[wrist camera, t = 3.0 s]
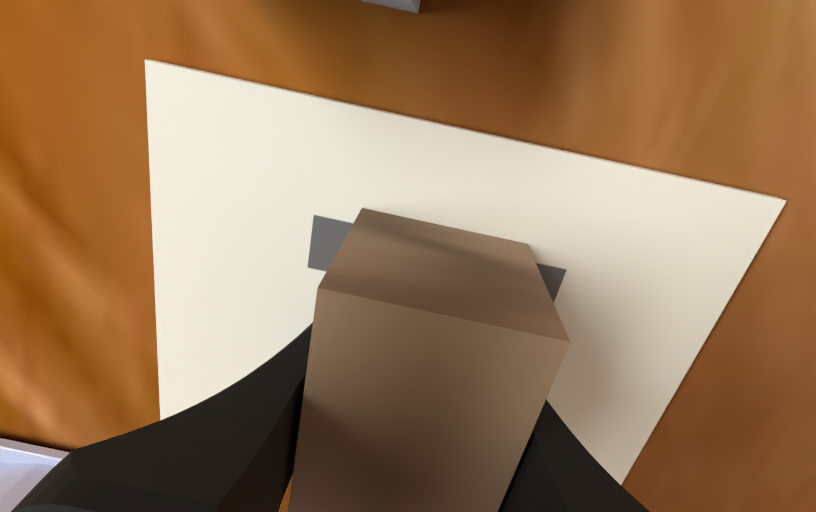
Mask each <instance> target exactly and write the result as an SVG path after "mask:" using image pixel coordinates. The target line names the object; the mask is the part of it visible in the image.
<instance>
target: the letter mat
mask: <svg viewBox="0 0 816 512" xmlns="http://www.w3.org/2000/svg"><path fill="white" fill-rule="evenodd" d="M145 74H146V97H147V120H148V143H149V166H150V189H151V212H152V235H153V259H154V282H155V305H156V328H157V351H158V374H159V397H160V420H163V419H165V418H167V417H170V416H172V415H174V414H177V413H179V412H181V411H183V410H185V409H187V408H189V407H191V406H194V405H196V404H198V403H200V402H202V401H204V400H206V399H208V398H209V397H211V396H213V395H215V394H217V393H219V392H220V391H222V390H224V389H226V388H227V387H229V386H231V385H232V384H234V383H236V382H237V381H239V380H240V379H242V378H243V377H245V376H246V375H248V374H249V373H251V372H252V371H254V370H255V369H256V368H258V367H259V366H261V365H262V364H263V363H265V362H266V361H268V360H269V359H270V358H272V357H273V356H274V355H275V354H277V353H278V352H279V351H280V350H282V349H283V348H284V347H285V346H287V345H288V344H289V343H290V342H291V341H293V340H294V339H295V338H296V337H297V336H298V335H299V334H301V333H302V332H303V331H304V330H305V329H306V328H307V327H308V326H309V325H310V324H311V323H312V322H313V318H314V310H315V303H316V295H317V288H318V286H319V284H320V282H321V281H322V279H323V277H324V275H325V273H326V272H327V270H328V268H329V266H330V264H331V263H332V261H333V259H334V257H335V255H336V254H337V252H338V250H339V248H340V246H341V245H342V243H343V241H344V239H345V237H346V236H347V234H348V232H349V230H350V228H351V227H352V225H353V223H354V221H355V219H356V218H357V216H358V214H359V212H360V210H361V209H362V208H365V209H370V210H374V211H379V212H383V213H388V214H393V215H397V216H402V217H406V218H411V219H416V220H420V221H425V222H429V223H434V224H439V225H443V226H448V227H452V228H457V229H462V230H466V231H471V232H475V233H480V234H485V235H489V236H494V237H498V238H503V239H508V240H512V241H517V242H521V243H526V244H528V246H529V249H530V251H531V253H532V256H533V258H534V260H535V262H536V265H537V267H538V269H539V271H540V274H541V276H542V278H543V281H544V283H545V285H546V287H547V290H548V292H549V294H550V297H551V299H552V301H553V303H554V306H555V308H556V310H557V312H558V315H559V317H560V319H561V322H562V324H563V326H564V328H565V331H566V333H567V335H568V337H569V340H570V345H569V347H568V349H567V351H566V354H565V356H564V358H563V361H562V363H561V365H560V368H559V370H558V372H557V375H556V377H555V379H554V382H553V384H552V386H551V389H550V391H549V393H548V396H547V398H546V399H547V401H548V402H549V403H550V405H551V406H552V407H553V409H554V410H555V411H556V413H557V414H558V415H559V417H560V418H561V419H562V421H563V422H564V423H565V424H566V426H567V427H568V428H569V429H570V431H571V432H572V433H573V434H574V435H575V436H576V438H577V439H578V440H579V441H580V442H581V444H582V445H583V446H584V447H585V448H586V450H587V451H588V452H589V453H590V454H591V455H592V456H593V457H594V458H595V459H596V461H597V462H598V463H599V464H600V465H601V466H602V467H603V468H604V469H605V470H606V471H607V472H608V473H609V474H610V475H611V476H612V477H613V478H614V479H615V480H616V481H617V482H618V483H619V484H620V485H621V484H622V483H623V481H624V479H625V478H626V476H627V474H628V472H629V471H630V469H631V467H632V466H633V464H634V462H635V460H636V459H637V457H638V455H639V454H640V452H641V450H642V448H643V447H644V445H645V443H646V442H647V440H648V438H649V436H650V435H651V433H652V431H653V430H654V428H655V426H656V424H657V423H658V421H659V419H660V418H661V416H662V414H663V412H664V411H665V409H666V407H667V405H668V404H669V402H670V400H671V399H672V397H673V395H674V393H675V392H676V390H677V388H678V387H679V385H680V383H681V381H682V380H683V378H684V376H685V375H686V373H687V371H688V369H689V368H690V366H691V364H692V363H693V361H694V359H695V357H696V356H697V354H698V352H699V351H700V349H701V347H702V345H703V344H704V342H705V340H706V339H707V337H708V335H709V333H710V332H711V330H712V328H713V327H714V325H715V323H716V321H717V320H718V318H719V316H720V315H721V313H722V311H723V309H724V308H725V306H726V304H727V303H728V301H729V299H730V297H731V296H732V294H733V292H734V291H735V289H736V287H737V285H738V284H739V282H740V280H741V279H742V277H743V275H744V273H745V272H746V270H747V268H748V267H749V265H750V263H751V261H752V260H753V258H754V256H755V255H756V253H757V251H758V249H759V248H760V246H761V244H762V243H763V241H764V239H765V237H766V236H767V234H768V232H769V231H770V229H771V227H772V225H773V224H774V222H775V220H776V218H777V217H778V215H779V213H780V212H781V210H782V208H783V206H784V205H785V203H786V201H785V200H783V199H781V198H778V197H774V196H769V195H765V194H760V193H756V192H751V191H746V190H742V189H737V188H733V187H728V186H724V185H719V184H715V183H710V182H706V181H701V180H696V179H692V178H687V177H683V176H678V175H674V174H669V173H665V172H660V171H656V170H651V169H647V168H642V167H637V166H633V165H628V164H624V163H619V162H615V161H610V160H606V159H601V158H597V157H592V156H587V155H583V154H578V153H574V152H569V151H565V150H560V149H556V148H551V147H547V146H542V145H537V144H533V143H528V142H524V141H519V140H515V139H510V138H506V137H501V136H497V135H492V134H487V133H483V132H478V131H474V130H469V129H465V128H460V127H456V126H451V125H447V124H442V123H437V122H433V121H428V120H424V119H419V118H415V117H410V116H406V115H401V114H397V113H392V112H387V111H383V110H378V109H374V108H369V107H365V106H360V105H356V104H351V103H347V102H342V101H337V100H333V99H328V98H324V97H319V96H315V95H310V94H306V93H301V92H297V91H292V90H287V89H283V88H278V87H274V86H269V85H265V84H260V83H256V82H251V81H247V80H242V79H237V78H233V77H228V76H224V75H219V74H215V73H210V72H206V71H201V70H197V69H192V68H187V67H183V66H178V65H174V64H169V63H165V62H160V61H156V60H145Z"/></svg>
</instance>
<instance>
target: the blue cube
mask: <svg viewBox="0 0 816 512" xmlns="http://www.w3.org/2000/svg"><path fill="white" fill-rule="evenodd" d="M359 1H363V2H368V3H372V4H377V5H381V6H386V7H390V8H395V9H399V10H404V11H408V12H412V13H417V14H418V12H419V6H420V1H421V0H359Z"/></svg>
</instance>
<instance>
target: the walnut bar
mask: <svg viewBox="0 0 816 512" xmlns="http://www.w3.org/2000/svg"><path fill="white" fill-rule="evenodd" d="M569 345H570V340H569V337H568V335H567V333H566V331H565V328H564V326H563V324H562V322H561V319H560V317H559V315H558V312H557V310H556V308H555V306H554V303H553V301H552V299H551V297H550V294H549V292H548V290H547V287H546V285H545V283H544V281H543V278H542V276H541V274H540V271H539V269H538V267H537V265H536V262H535V260H534V258H533V256H532V253H531V251H530V249H529V246H528V244H526V243H521V242H517V241H512V240H508V239H503V238H498V237H494V236H489V235H485V234H480V233H475V232H471V231H466V230H462V229H457V228H452V227H448V226H443V225H439V224H434V223H429V222H425V221H420V220H416V219H411V218H406V217H402V216H397V215H393V214H388V213H383V212H379V211H374V210H370V209H365V208H362V209H361V210H360V212H359V214H358V216H357V218H356V219H355V221H354V223H353V225H352V227H351V228H350V230H349V232H348V234H347V236H346V237H345V239H344V241H343V243H342V245H341V246H340V248H339V250H338V252H337V254H336V255H335V257H334V259H333V261H332V263H331V264H330V266H329V268H328V270H327V272H326V273H325V275H324V277H323V279H322V281H321V282H320V284H319V286H318V288H317V295H316V303H315V310H314V318H313V326H312V333H311V341H310V348H309V356H308V363H307V371H306V379H305V386H304V394H303V401H302V409H301V416H300V424H299V432H298V439H297V447H296V454H295V462H294V469H293V477H292V485H291V492H290V500H289V507H288V512H498V510H499V507H500V505H501V503H502V500H503V498H504V496H505V493H506V491H507V489H508V486H509V484H510V482H511V479H512V477H513V475H514V473H515V470H516V468H517V466H518V463H519V461H520V459H521V456H522V454H523V452H524V449H525V447H526V445H527V442H528V440H529V438H530V435H531V433H532V431H533V428H534V426H535V424H536V421H537V419H538V417H539V414H540V412H541V410H542V407H543V405H544V403H545V400H546V398H547V396H548V393H549V391H550V389H551V386H552V384H553V382H554V379H555V377H556V375H557V372H558V370H559V368H560V365H561V363H562V361H563V358H564V356H565V354H566V351H567V349H568V347H569Z"/></svg>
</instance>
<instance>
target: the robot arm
mask: <svg viewBox="0 0 816 512" xmlns="http://www.w3.org/2000/svg"><path fill="white" fill-rule="evenodd" d="M312 326H313V322H312V323H311V324H310V325H309V326H308V327H307V328H306V329H305V330H304V331H303V332H302V333H301V334H299V335H298V336H297V337H296V338H295V339H294V340H293V341H291V342H290V343H289V344H288V345H287V346H285V347H284V348H283V349H282V350H280V351H279V352H278V353H277V354H275V355H274V356H273V357H272V358H270V359H269V360H268V361H266V362H265V363H263V364H262V365H261V366H259V367H258V368H256V369H255V370H254V371H252V372H251V373H249V374H248V375H246V376H245V377H243V378H242V379H240V380H239V381H237V382H236V383H234V384H232V385H231V386H229V387H227V388H226V389H224V390H222V391H220V392H219V393H217V394H215V395H213V396H211V397H209V398H208V399H206V400H204V401H202V402H200V403H198V404H196V405H194V406H191V407H189V408H187V409H185V410H183V411H181V412H179V413H177V414H174V415H172V416H170V417H167V418H165V419H163V420H160V421H158V422H155V423H153V424H150V425H147V426H145V427H142V428H139V429H137V430H134V431H131V432H128V433H126V434H123V435H119V436H116V437H113V438H110V439H107V440H104V441H101V442H97V443H94V444H91V445H88V446H85V447H81V448H78V449H74V450H72V451H71V452H66V451H61V450H56V449H51V448H47V447H42V446H37V445H32V444H27V443H23V442H18V441H13V440H8V439H3V438H0V512H278V510H279V507H280V504H281V501H282V499H283V496H284V494H285V491H286V489H287V486H288V484H289V481H290V479H291V477H292V475H293V469H294V462H295V454H296V447H297V439H298V432H299V424H300V416H301V409H302V401H303V394H304V386H305V379H306V371H307V363H308V356H309V348H310V341H311V333H312ZM498 512H649V511H648V510H647V509H646V508H645V507H644V506H643V505H642V504H641V503H639V502H638V501H637V500H636V499H635V498H634V497H633V496H632V495H631V494H629V493H628V492H627V491H626V490H625V489H624V488H623V487H622V486H621V485H620V484H619V483H618V482H617V481H616V480H615V479H614V478H613V477H612V476H611V475H610V474H609V473H608V472H607V471H606V470H605V469H604V468H603V467H602V466H601V465H600V464H599V463H598V462H597V461H596V459H595V458H594V457H593V456H592V455H591V454H590V453H589V452H588V451H587V450H586V448H585V447H584V446H583V445H582V444H581V442H580V441H579V440H578V439H577V438H576V436H575V435H574V434H573V433H572V432H571V431H570V429H569V428H568V427H567V426H566V424H565V423H564V422H563V421H562V419H561V418H560V417H559V415H558V414H557V413H556V411H555V410H554V409H553V407H552V406H551V405H550V403H549V402H548V401H547V399H546V400H545V403H544V405H543V407H542V410H541V412H540V414H539V417H538V419H537V421H536V424H535V426H534V428H533V431H532V433H531V435H530V438H529V440H528V442H527V445H526V447H525V449H524V452H523V454H522V456H521V459H520V461H519V463H518V466H517V468H516V470H515V473H514V475H513V477H512V479H511V482H510V484H509V486H508V489H507V491H506V493H505V496H504V498H503V500H502V503H501V505H500V507H499V510H498Z"/></svg>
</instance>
